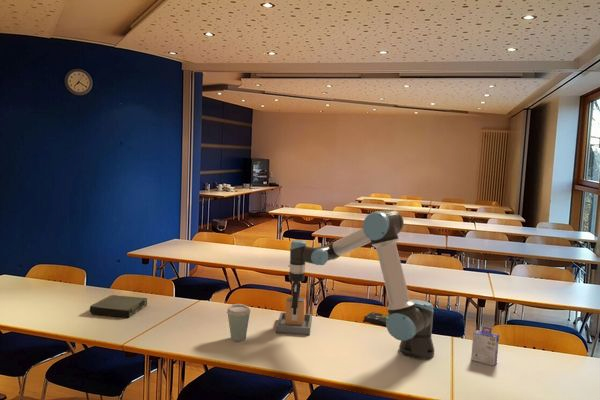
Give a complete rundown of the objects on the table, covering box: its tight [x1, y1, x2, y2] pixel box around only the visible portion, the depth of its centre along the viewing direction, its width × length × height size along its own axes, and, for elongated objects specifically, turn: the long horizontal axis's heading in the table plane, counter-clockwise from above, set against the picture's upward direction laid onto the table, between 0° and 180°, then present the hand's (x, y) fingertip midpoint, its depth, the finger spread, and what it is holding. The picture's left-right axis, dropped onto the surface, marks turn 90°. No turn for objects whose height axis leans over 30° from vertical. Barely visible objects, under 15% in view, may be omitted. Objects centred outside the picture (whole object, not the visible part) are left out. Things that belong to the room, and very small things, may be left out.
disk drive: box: [363, 311, 389, 327], centre depth 252 cm, size 10×3×15 cm
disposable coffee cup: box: [226, 303, 251, 342], centre depth 218 cm, size 11×11×15 cm
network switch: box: [89, 294, 148, 319], centre depth 250 cm, size 23×23×5 cm
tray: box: [275, 311, 313, 336], centre depth 238 cm, size 20×16×4 cm
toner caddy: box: [285, 296, 306, 325], centre depth 237 cm, size 6×9×11 cm, turn 86°
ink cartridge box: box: [470, 326, 500, 366], centre depth 207 cm, size 10×6×14 cm, turn 58°
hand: (294, 318), depth 238 cm, fingers closed on toner caddy, 6 cm apart
